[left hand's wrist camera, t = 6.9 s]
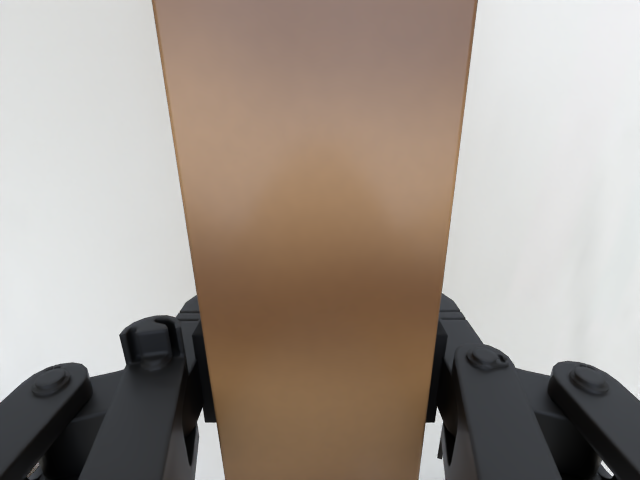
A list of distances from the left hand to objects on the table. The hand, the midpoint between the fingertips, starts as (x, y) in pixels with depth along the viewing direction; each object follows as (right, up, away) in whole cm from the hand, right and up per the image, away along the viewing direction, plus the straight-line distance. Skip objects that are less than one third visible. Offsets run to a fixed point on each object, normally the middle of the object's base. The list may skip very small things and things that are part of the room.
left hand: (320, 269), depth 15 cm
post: (0, +25, -9) cm, 26 cm away
